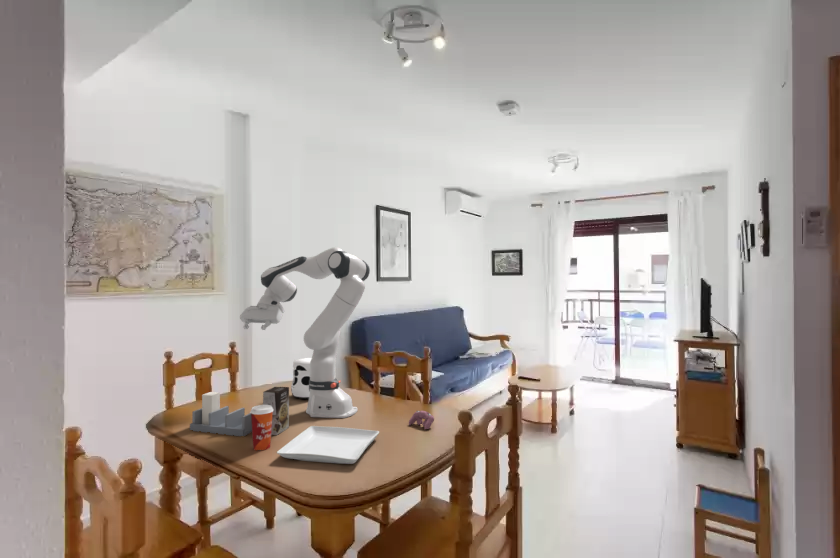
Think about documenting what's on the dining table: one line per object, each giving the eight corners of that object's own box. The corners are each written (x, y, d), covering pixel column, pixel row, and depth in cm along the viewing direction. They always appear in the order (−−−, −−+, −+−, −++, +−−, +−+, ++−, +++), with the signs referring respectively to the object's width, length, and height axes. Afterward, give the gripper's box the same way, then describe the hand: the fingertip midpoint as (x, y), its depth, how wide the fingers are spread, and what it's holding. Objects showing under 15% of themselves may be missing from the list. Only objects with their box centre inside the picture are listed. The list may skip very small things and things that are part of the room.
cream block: (219, 422, 176) (219, 392, 176) (211, 426, 172) (211, 395, 172) (210, 421, 177) (210, 391, 177) (202, 425, 173) (202, 394, 173)
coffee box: (277, 435, 165) (277, 392, 165) (262, 434, 166) (262, 391, 166) (289, 427, 174) (289, 386, 174) (274, 426, 175) (274, 385, 175)
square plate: (356, 470, 136) (356, 458, 136) (274, 463, 141) (274, 451, 141) (380, 439, 162) (380, 429, 162) (310, 434, 167) (310, 424, 167)
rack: (262, 426, 175) (262, 408, 175) (243, 436, 163) (243, 417, 163) (212, 420, 181) (212, 403, 181) (189, 430, 170) (189, 412, 170)
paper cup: (259, 453, 148) (260, 411, 148) (245, 448, 152) (245, 408, 152) (278, 446, 154) (278, 406, 154) (264, 441, 158) (264, 402, 158)
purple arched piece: (432, 432, 174) (437, 414, 176) (425, 430, 170) (430, 412, 173) (413, 426, 180) (418, 409, 182) (406, 424, 177) (412, 407, 179)
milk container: (334, 395, 223) (334, 359, 223) (309, 403, 208) (309, 365, 208) (309, 390, 231) (309, 356, 231) (283, 398, 217) (283, 361, 217)
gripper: (245, 301, 214) (231, 323, 205) (282, 302, 209) (270, 325, 199) (251, 310, 218) (237, 332, 209) (287, 311, 213) (275, 333, 204)
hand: (253, 328), depth 204 cm, fingers open, 8 cm apart
